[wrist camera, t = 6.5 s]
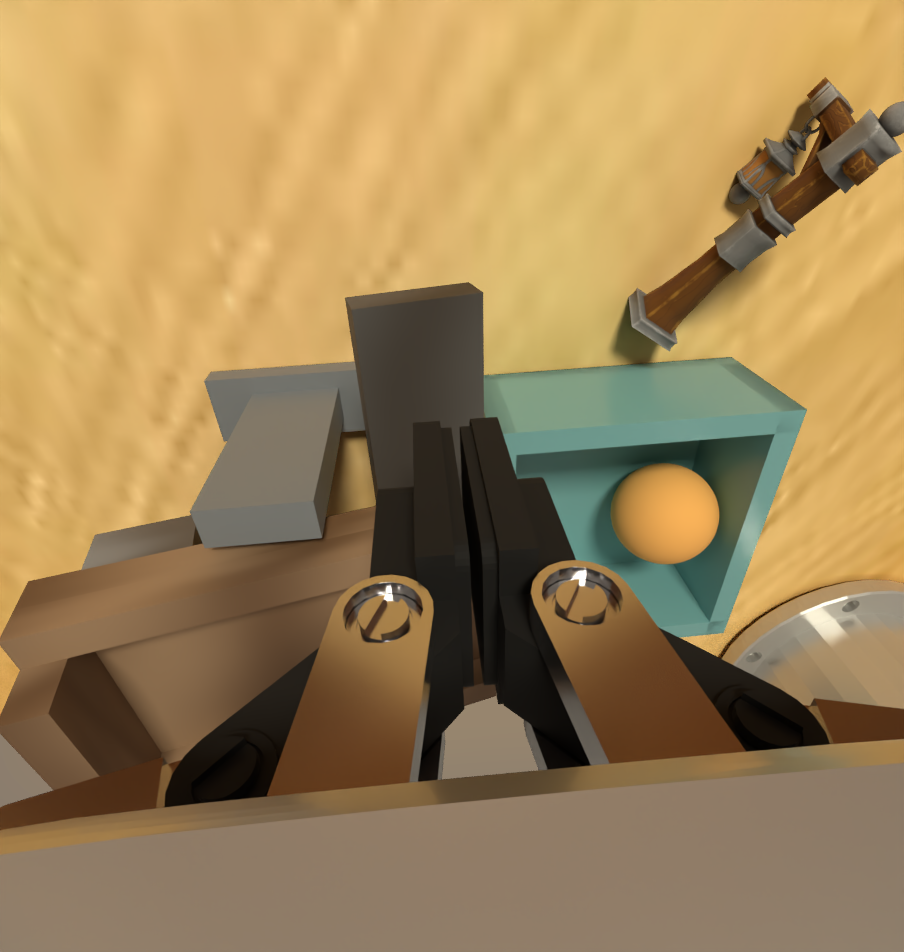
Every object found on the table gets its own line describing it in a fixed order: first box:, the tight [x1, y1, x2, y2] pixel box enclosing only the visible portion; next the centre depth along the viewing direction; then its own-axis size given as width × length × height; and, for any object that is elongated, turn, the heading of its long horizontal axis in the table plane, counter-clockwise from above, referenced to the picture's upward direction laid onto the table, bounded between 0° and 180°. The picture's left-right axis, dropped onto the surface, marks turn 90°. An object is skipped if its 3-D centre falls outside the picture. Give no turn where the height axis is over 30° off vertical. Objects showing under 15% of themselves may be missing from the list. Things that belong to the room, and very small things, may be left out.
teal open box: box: [484, 357, 807, 637], centre depth 21 cm, size 10×11×4 cm
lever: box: [0, 282, 496, 790], centre depth 15 cm, size 12×14×6 cm
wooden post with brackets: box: [629, 77, 904, 351], centre depth 16 cm, size 2×8×4 cm, turn 149°
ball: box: [611, 463, 719, 564], centre depth 21 cm, size 4×4×4 cm
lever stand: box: [190, 362, 365, 548], centre depth 19 cm, size 6×12×8 cm, turn 3°
